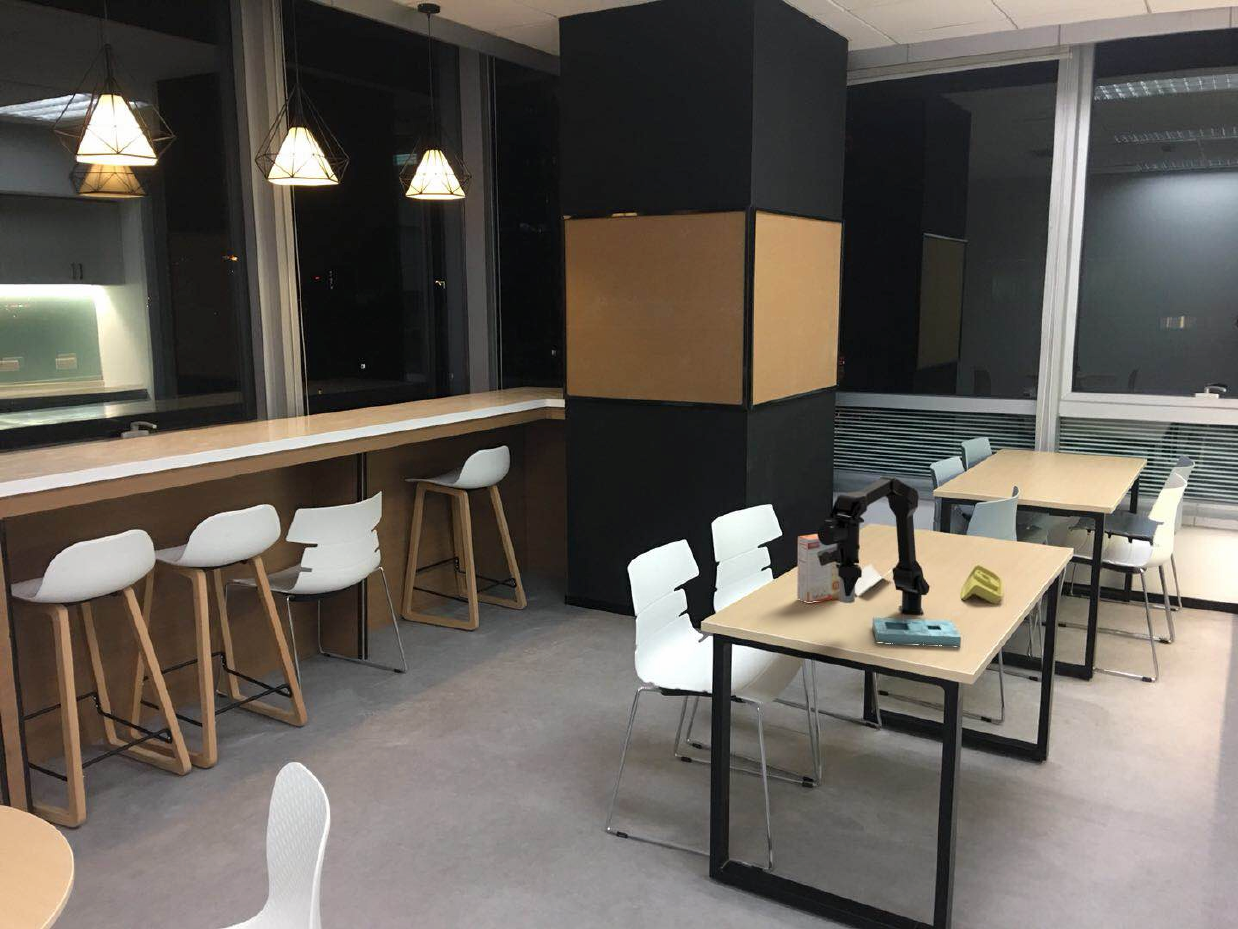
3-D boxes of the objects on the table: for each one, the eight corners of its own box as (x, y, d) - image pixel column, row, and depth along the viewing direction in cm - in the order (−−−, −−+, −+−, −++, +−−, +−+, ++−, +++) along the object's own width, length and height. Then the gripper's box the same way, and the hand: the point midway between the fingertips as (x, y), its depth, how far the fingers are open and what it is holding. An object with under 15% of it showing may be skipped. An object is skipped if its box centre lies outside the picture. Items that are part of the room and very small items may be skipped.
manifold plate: (872, 627, 282) (872, 617, 281) (951, 630, 278) (952, 620, 278) (877, 643, 268) (877, 633, 267) (960, 647, 264) (960, 637, 264)
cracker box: (831, 593, 315) (833, 530, 311) (843, 598, 309) (845, 534, 306) (795, 599, 309) (797, 535, 306) (807, 604, 303) (808, 539, 300)
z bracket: (845, 608, 314) (832, 592, 316) (869, 588, 335) (857, 574, 337) (871, 586, 308) (858, 570, 310) (894, 568, 329) (882, 553, 331)
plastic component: (1002, 598, 301) (972, 582, 303) (990, 617, 304) (960, 601, 306) (1002, 577, 319) (973, 562, 321) (990, 595, 322) (962, 580, 324)
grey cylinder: (838, 598, 277) (839, 570, 276) (854, 598, 276) (854, 571, 275) (839, 602, 273) (839, 575, 271) (855, 603, 272) (856, 575, 271)
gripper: (817, 531, 282) (816, 583, 284) (820, 546, 264) (819, 602, 266) (857, 532, 280) (855, 584, 283) (862, 548, 262) (860, 604, 264)
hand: (846, 593), depth 274 cm, fingers closed on grey cylinder, 4 cm apart
